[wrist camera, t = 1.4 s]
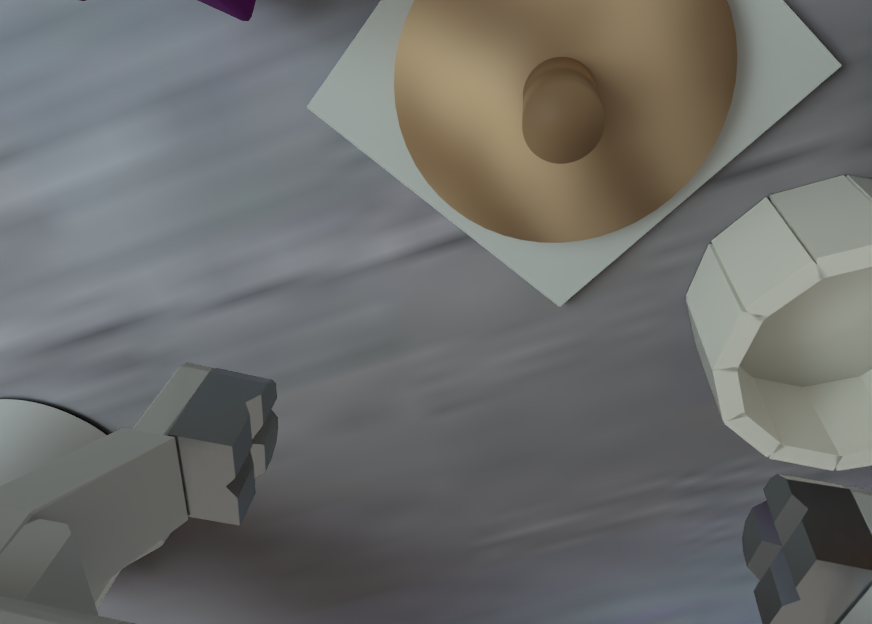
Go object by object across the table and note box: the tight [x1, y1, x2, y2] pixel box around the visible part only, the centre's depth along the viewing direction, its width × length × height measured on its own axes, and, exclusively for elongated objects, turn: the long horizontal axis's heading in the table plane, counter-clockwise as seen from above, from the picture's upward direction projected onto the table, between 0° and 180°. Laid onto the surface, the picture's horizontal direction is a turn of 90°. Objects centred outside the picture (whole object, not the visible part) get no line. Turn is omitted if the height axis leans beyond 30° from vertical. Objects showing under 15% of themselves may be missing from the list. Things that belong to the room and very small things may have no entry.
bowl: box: [686, 175, 872, 471], centre depth 31 cm, size 12×12×6 cm
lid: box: [394, 0, 737, 243], centre depth 27 cm, size 14×14×5 cm
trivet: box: [307, 0, 842, 307], centre depth 29 cm, size 16×16×1 cm
